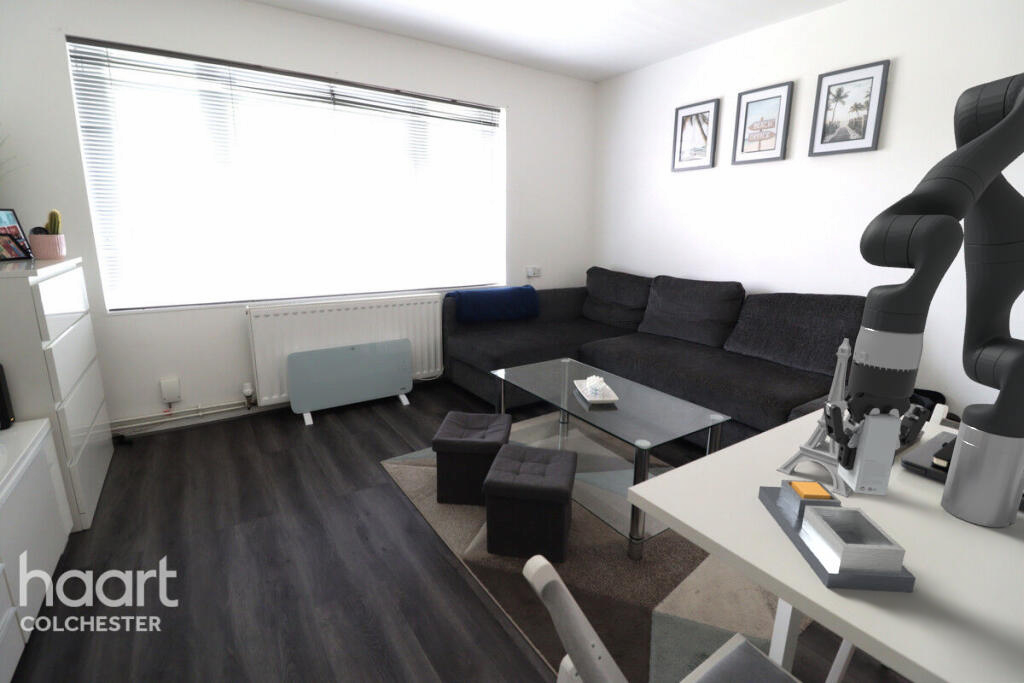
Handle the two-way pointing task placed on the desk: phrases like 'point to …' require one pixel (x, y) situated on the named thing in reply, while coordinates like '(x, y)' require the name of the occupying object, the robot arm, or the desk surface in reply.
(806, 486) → the button
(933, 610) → the desk surface
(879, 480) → the skincare box
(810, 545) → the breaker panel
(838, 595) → the desk surface
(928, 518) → the desk surface
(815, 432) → the eiffel tower
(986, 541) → the desk surface
